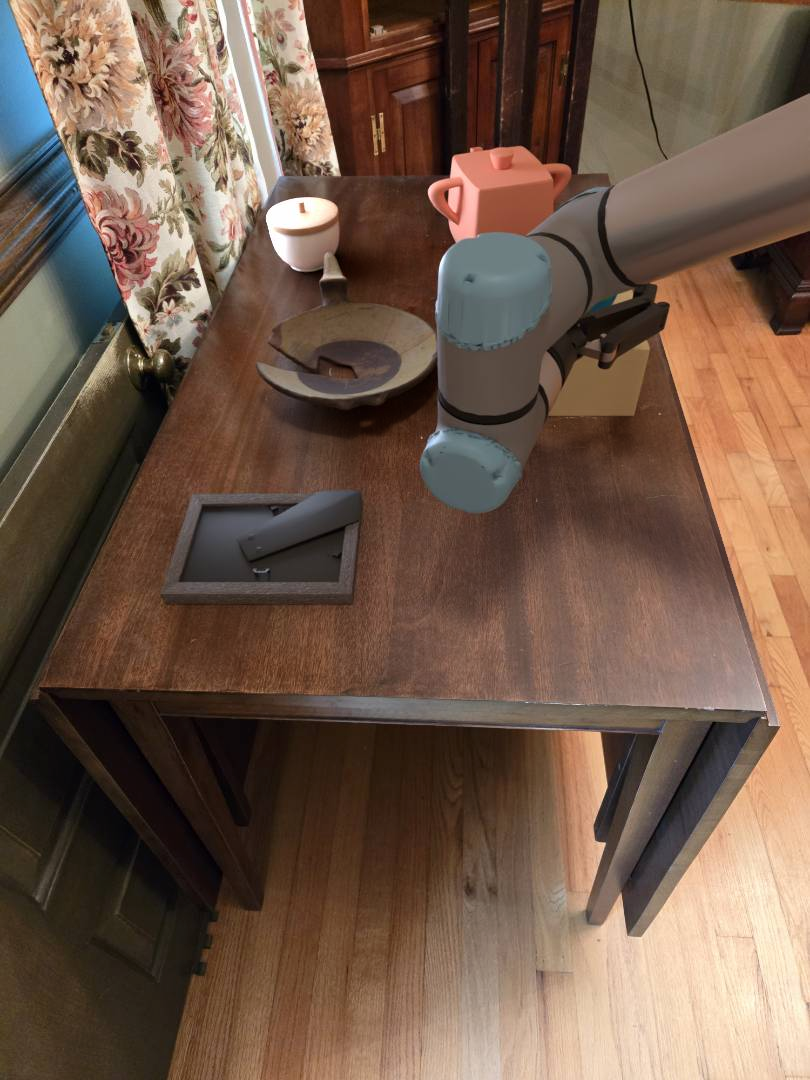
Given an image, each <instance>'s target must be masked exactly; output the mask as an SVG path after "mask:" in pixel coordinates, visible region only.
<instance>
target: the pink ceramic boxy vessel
mask: <svg viewBox="0 0 810 1080" xmlns="http://www.w3.org/2000/svg"><path fill="white" fill-rule="evenodd" d="M450 167H451V168H450V175H449V178H444V179H441V180H437V181H435V182H433V183H432V184H431V185H430V186H429V188H428V189H427V195H428V198H429V201H430V202H431V204H432V206H433V207H434V208H435V209H436V210H437V211H438V212H439V213H440V214H442V215H443V216H444V217H446V218H447V220H448V226H449V230H450V233H451V235H452V238H453V240H454V242H455V243H457V242H459V241H460V240H462V239H465V238H477V236H478V235H479V234H482V233H492V232H503V233H512V234H517V235H521V236H524V237H525V236H526V235H527V234H528V233H530V232H531V231H532V230H533V229H535V228H536V227H537V226H538V225H540V224H541V223H542V222H543V221H545V220H546V219H547V218H548V217H550V216H551V215H552V214H553V213H554V212H555V210H554V207H555V206H554V205H555V203H554V202H555V200H557V198H559V196H560V195H561V194H562V193H563V192H564V190H565V189H566V187H567V186H568V184H569V182H570V180H571V177H572V172H573V171H572V169H571V167H570V166H569V165H567V164H565V163H557V162H555V163H545V164H543V163H542V162H541V161H540V159H538V158H537V157H536V156H535V155H534V154H533V153H532V152H531V151H530V150H528V149H527V148H526V147H524V146H522V145H516V146H507V147H506V146H505V147H503V146H500V147H494V148H492V149H485V150H484V148H483V147H481V146H475V147H470V148H469V152H466V153H465V152H464V153H460V154H454V155H453V156H452V158H451V166H450ZM552 175H555V177H554V179H553V176H552ZM447 191H448V198H447V200H446V198H445V192H447Z"/></svg>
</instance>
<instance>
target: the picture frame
mask: <svg viewBox="0 0 810 1080" xmlns="http://www.w3.org/2000/svg"><path fill="white" fill-rule="evenodd" d="M362 492H363V491H362V489H321V490H319V491H318V492H315V493H314V492H307V493H300V492H299V493H297V492H296V493H295V492H294V493H192V495H191V497H190V500H189V504H188V507H187V510H186V513H185V516H184V519H183V522H182V524H181V528H180V531H179V535H178V538H177V540H176V544H175V547H174V550H173V553H172V556H171V559H170V562H169V565H168V568H167V571H166V575H165V577H164V578H165V579H164V581H163V584H162V587H161V590H160V593H159V595H160V597H161V599H162V601H163V603H164V605H354V599H355V598H354V597H355V587H356V580H357V579H356V578H357V569H358V558H359V550H360V549H359V548H360V538H361V528H362V520H363V519H362V518H363V509H364V498H363V493H362Z"/></svg>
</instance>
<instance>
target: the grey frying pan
mask: <svg viewBox="0 0 810 1080" xmlns="http://www.w3.org/2000/svg"><path fill="white" fill-rule="evenodd" d="M348 286H349V283H348V278H347V277H345V275H344V274H343V272H342V269H341V268H340V265H339V262H338V260H337V258H336V256H335V254H334V255H333V254H332V253H330V252H328V253H326V254H325V256H324V268H323V275H322V277H321V278H320V280H319V288H320V293H321V299H322V305H319V306H317V307H315V308H313V309H310V310H307V311H303V312H301V313H297V314H295V315H292V316H290V317H289V318H286V319H284V320H282V321H280V322H278V323H277V324H276V325H274V327H272V329H271V334H270V336H269V337H268V338H267V340H266V342H267V344H268V345H269V346H271V347H272V348H273V349H274V350H275V351H276V352H278V353H280V354H281V355H283V356H284V358H286V359H287V360H290V361H291V362H292V363H293V364H295V365H297V366H300V368H302V370H307V371H308V372H309V373H306V372H302V371H300V372H299V371H293V370H286V369H285V370H284V369H281V368H279V367H275V366H271V365H268V364H266V363H264V362H259V361H258V362H255V369H256V371H257V373H258V375H259V376H260V378H261V380H263V381H264V382H265V383H266V384H267V385H269V386H270V387H271V388H272V389H273V390H275V391H277V392H278V393H281V394H282V395H284V396H287V397H290V398H292V399H295V400H298V401H300V402H303V403H307V404H310V405H316V406H326V407H331V408H336V409H338V410H341V411H350V410H352V409H354V408H357V407H360V406H372V407H373V406H374V407H375V406H376V407H377V406H380V405H382V404H384V403H385V402H386V401H387V399H390V398H392V397H395V396H397V395H401V394H402V393H404V392H406V391H408V390H410V389H412V388H414V386H417V385H418V384H419V383H420V382H422V381H423V380H425V378H427V377H428V375H430V373H431V372H432V371H433V370H434V368H435V367H436V365H437V364H438V354H437V330H435V329H434V328H433V327H432V325H430V323H428V322H427V321H425V319H423V318H421V317H419V316H418V315H415V314H413V313H412V312H411V313H410V312H409V311H405V310H403V309H399V308H396V307H392V306H389V305H383V304H377V303H367V302H352V301H351V300H350V299H349V296H348ZM320 360H323V361H326V362H327V363H330V364H335V365H337V366H342V367H348V368H351V369H352V370H353V373H355V375H356V378H345V377H334V376H332V374H331V371H332V368H330V369H328V371H329V373H328V374H329V376H328V375H322V374H321V375H319V374H318V372H319V370H320V369H319V368H320V366H321V363H320Z"/></svg>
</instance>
